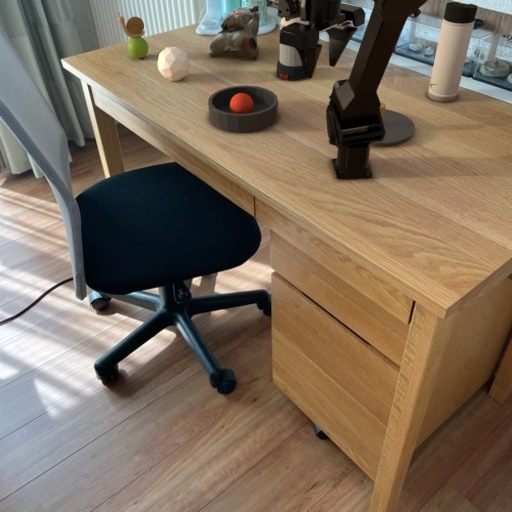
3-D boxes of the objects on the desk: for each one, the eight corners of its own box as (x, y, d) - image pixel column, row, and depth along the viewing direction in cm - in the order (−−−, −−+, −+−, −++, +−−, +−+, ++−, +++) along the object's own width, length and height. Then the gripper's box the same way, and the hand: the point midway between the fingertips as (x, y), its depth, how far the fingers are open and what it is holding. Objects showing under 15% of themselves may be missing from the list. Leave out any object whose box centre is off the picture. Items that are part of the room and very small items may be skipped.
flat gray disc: (423, 146, 103) (428, 121, 99) (345, 149, 102) (348, 124, 99) (403, 111, 114) (407, 87, 111) (333, 114, 114) (335, 90, 110)
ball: (255, 120, 112) (252, 101, 108) (232, 124, 112) (228, 104, 108) (254, 106, 115) (251, 86, 111) (231, 109, 115) (227, 89, 111)
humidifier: (276, 81, 128) (277, -35, 111) (276, 68, 134) (277, -44, 118) (310, 80, 127) (316, -35, 111) (308, 67, 134) (314, -44, 117)
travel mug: (424, 99, 118) (443, 4, 105) (431, 88, 123) (450, -5, 110) (452, 105, 116) (475, 8, 103) (458, 93, 121) (481, -1, 107)
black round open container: (280, 131, 108) (280, 114, 106) (209, 134, 108) (207, 117, 106) (274, 100, 119) (274, 84, 117) (210, 103, 119) (208, 86, 117)
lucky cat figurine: (199, 54, 141) (206, -1, 138) (237, 64, 148) (245, 11, 145) (228, 54, 130) (236, -7, 126) (267, 64, 137) (276, 6, 133)
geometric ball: (185, 89, 132) (198, 68, 125) (154, 84, 127) (166, 62, 121) (180, 65, 134) (192, 43, 128) (150, 59, 130) (161, 36, 123)
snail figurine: (123, 56, 142) (114, 9, 134) (146, 52, 144) (139, 5, 136) (128, 63, 138) (119, 15, 130) (152, 59, 140) (145, 11, 132)
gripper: (321, -35, 100) (316, 49, 110) (255, -14, 90) (256, 76, 100) (371, -26, 94) (361, 61, 105) (307, -2, 84) (303, 92, 94)
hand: (320, 72), depth 101 cm, fingers open, 7 cm apart
